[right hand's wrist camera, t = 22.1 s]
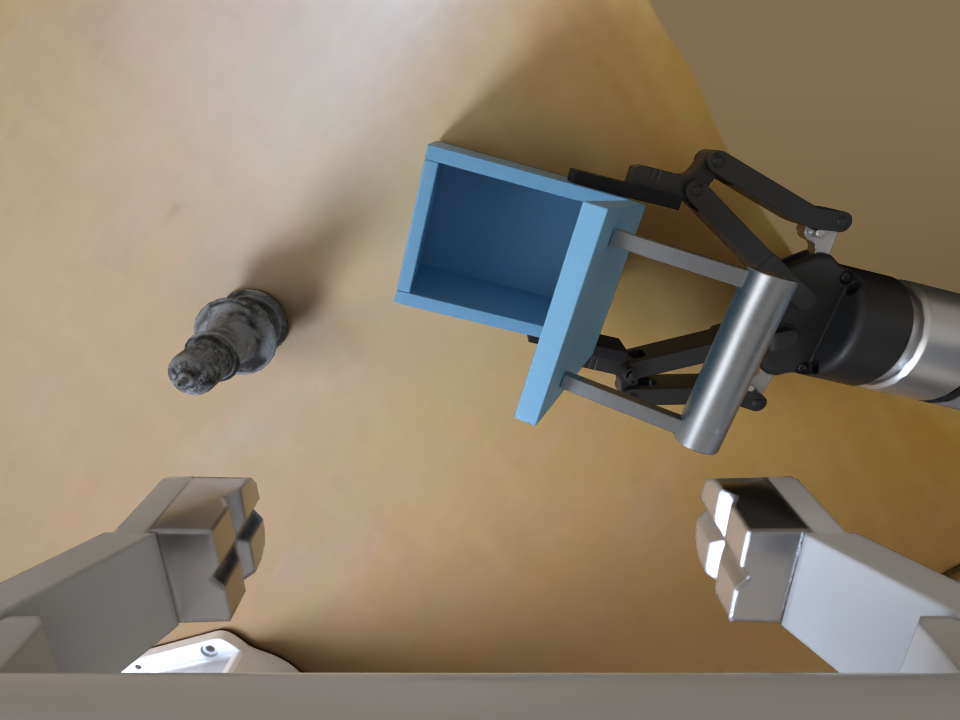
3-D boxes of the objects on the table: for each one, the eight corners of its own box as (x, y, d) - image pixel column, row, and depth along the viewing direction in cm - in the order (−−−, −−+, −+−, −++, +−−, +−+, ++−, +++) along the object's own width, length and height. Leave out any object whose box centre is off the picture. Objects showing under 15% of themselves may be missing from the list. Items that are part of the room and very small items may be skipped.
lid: (514, 417, 25) (710, 500, 22) (582, 200, 21) (822, 272, 19) (577, 348, 36) (712, 399, 34) (629, 199, 32) (782, 245, 30)
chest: (408, 268, 43) (394, 302, 35) (436, 140, 40) (427, 143, 31) (561, 307, 44) (583, 348, 36) (601, 186, 41) (635, 201, 33)
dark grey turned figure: (230, 271, 43) (143, 320, 32) (303, 307, 44) (243, 367, 33) (204, 336, 45) (114, 404, 34) (275, 369, 46) (209, 445, 35)
